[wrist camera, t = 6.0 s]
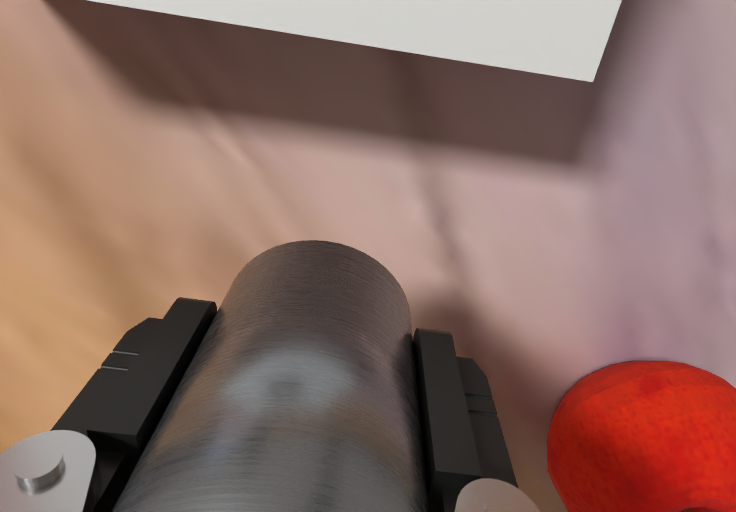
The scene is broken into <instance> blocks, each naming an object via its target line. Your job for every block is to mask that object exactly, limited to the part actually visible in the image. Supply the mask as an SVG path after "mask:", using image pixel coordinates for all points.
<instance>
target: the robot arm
mask: <svg viewBox="0 0 736 512" xmlns="http://www.w3.org/2000/svg"><path fill="white" fill-rule="evenodd" d="M216 313H217V306H216V303H215V302H212V301H205V300H197V299H189V298H181V297H179V298H178V299H176V301H175V302H174V303H173V305H172V306H171V308H170V309H169V311H168V312H167V314H166V315H165V316H164V318H163V319H157V318H147V319H146V320H144V321H143V322H141V323H140V324H138V325H136V326H135V327H133V328H132V329H130V330H129V331H127V332H126V334H125V335H124V336H123V337H122V339H121V340H120V341H119V343H118V344H117V345H116V346H115V348H114V349H113V353H110V354H109V356H108V357H107V358H106V359H105V361H104V362H103V363H102V365H101V369H98V370H97V371H96V372H95V374H94V375H93V376H92V378H91V379H90V380H89V381H88V383H87V384H86V385H85V387H84V388H83V389H82V391H81V392H80V393H79V394H78V396H77V397H76V398H75V400H74V401H73V402H72V403H71V405H70V406H69V407H68V409H67V410H66V411H65V413H64V414H63V415H62V416H61V418H60V419H59V420H58V422H57V423H56V424H55V425H54V427H53V428H52V429H51V430H50V431H47V432H43V433H39V434H35V435H33V436H30V437H28V438H25V439H23V440H21V441H19V442H17V443H16V444H14V445H12V446H11V447H9V448H8V449H6V450H5V451H4V452H3V453H1V454H0V512H112V510H113V508H114V506H115V504H116V503H117V501H118V499H119V497H120V495H121V493H122V491H123V489H124V487H125V486H126V484H127V482H128V480H129V478H130V476H131V474H132V472H133V470H134V468H135V467H136V465H137V463H138V461H139V459H140V457H141V455H142V453H143V451H144V450H145V448H146V446H147V444H148V442H149V440H150V438H151V436H152V434H153V433H154V431H155V429H156V427H157V425H158V423H159V421H160V419H161V417H162V415H163V414H164V412H165V410H166V408H167V406H168V404H169V402H170V400H171V398H172V397H173V395H174V393H175V391H176V389H177V387H178V385H179V383H180V381H181V380H182V378H183V376H184V374H185V372H186V370H187V368H188V366H189V364H190V362H191V361H192V359H193V357H194V355H195V353H196V351H197V349H198V347H199V345H200V344H201V342H202V340H203V338H204V336H205V334H206V332H207V330H208V328H209V327H210V325H211V323H212V321H213V319H214V317H215V315H216ZM413 347H414V358H415V368H416V378H417V389H418V399H419V410H420V420H421V430H422V441H423V451H424V462H425V472H426V482H427V493H428V503H429V512H540V510H539V509H538V507H537V506H536V505H535V503H534V502H533V501H532V500H531V499H530V498H529V497H528V496H527V495H526V494H525V493H523V492H522V491H521V490H520V489H519V488H518V485H517V482H516V479H515V475H514V472H513V468H512V465H511V461H510V458H509V454H508V451H507V447H506V444H505V440H504V437H503V433H502V430H501V426H500V423H499V419H498V417H497V412H496V408H495V405H494V401H493V400H492V394H491V391H490V387H489V384H488V380H487V377H486V376H485V374H484V373H483V372H482V370H481V369H480V368H479V367H478V365H477V364H476V363H475V362H474V360H473V359H470V358H462V357H456V353H455V348H454V343H453V339H452V335H451V333H450V332H443V331H435V330H427V329H419V328H417V329H416V331H415V333H414V337H413Z"/></svg>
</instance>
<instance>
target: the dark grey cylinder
mask: <svg viewBox="0 0 736 512" xmlns="http://www.w3.org/2000/svg"><path fill="white" fill-rule="evenodd" d="M112 512H429V503H428V493H427V482H426V472H425V462H424V451H423V441H422V430H421V420H420V410H419V399H418V389H417V378H416V368H415V358H414V347H413V337H412V326H411V316H410V310H409V305H408V302H407V299H406V296H405V294H404V292H403V290H402V288H401V286H400V284H399V283H398V282H397V280H396V279H395V278H394V276H393V275H392V274H391V273H390V272H389V271H388V270H387V269H386V268H385V267H384V266H383V265H381V264H380V263H379V262H378V261H376V260H375V259H373V258H372V257H370V256H369V255H367V254H365V253H363V252H361V251H359V250H357V249H354V248H352V247H349V246H346V245H343V244H339V243H334V242H328V241H317V240H308V241H297V242H290V243H286V244H283V245H279V246H276V247H274V248H271V249H269V250H267V251H265V252H263V253H261V254H260V255H258V256H256V257H255V258H254V259H252V260H251V261H250V262H249V263H248V264H246V265H245V267H244V268H243V269H242V270H241V271H240V272H239V273H238V275H237V277H236V278H235V280H234V281H233V283H232V285H231V287H230V289H229V291H228V292H227V294H226V296H225V298H224V300H223V302H222V304H221V306H220V308H219V309H218V311H217V313H216V315H215V317H214V319H213V321H212V323H211V325H210V327H209V328H208V330H207V332H206V334H205V336H204V338H203V340H202V342H201V344H200V345H199V347H198V349H197V351H196V353H195V355H194V357H193V359H192V361H191V362H190V364H189V366H188V368H187V370H186V372H185V374H184V376H183V378H182V380H181V381H180V383H179V385H178V387H177V389H176V391H175V393H174V395H173V397H172V398H171V400H170V402H169V404H168V406H167V408H166V410H165V412H164V414H163V415H162V417H161V419H160V421H159V423H158V425H157V427H156V429H155V431H154V433H153V434H152V436H151V438H150V440H149V442H148V444H147V446H146V448H145V450H144V451H143V453H142V455H141V457H140V459H139V461H138V463H137V465H136V467H135V468H134V470H133V472H132V474H131V476H130V478H129V480H128V482H127V484H126V486H125V487H124V489H123V491H122V493H121V495H120V497H119V499H118V501H117V503H116V504H115V506H114V508H113V510H112Z"/></svg>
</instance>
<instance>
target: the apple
mask: <svg viewBox="0 0 736 512" xmlns="http://www.w3.org/2000/svg"><path fill="white" fill-rule="evenodd" d="M547 461H548V472H549V474H550V477H551V479H552V482H553V484H554V486H555V488H556V489H557V491H558V493H559V495H560V497H561V499H562V501H563V503H564V505H565V506H566V508H567V510H568V512H736V389H735V388H734V387H733V386H732V385H730V384H729V383H728V382H727V381H726V380H724V379H723V378H721V377H718V376H716V375H714V374H712V373H710V372H708V371H705V370H702V369H700V368H697V367H694V366H691V365H688V364H685V363H678V362H669V361H630V362H624V363H619V364H614V365H610V366H608V367H605V368H603V369H601V370H598V371H596V372H593V373H591V374H589V375H588V376H586V377H584V378H583V379H581V380H580V381H579V382H578V383H576V384H575V385H574V386H573V387H572V388H571V389H570V390H569V391H568V392H567V393H566V394H565V396H564V397H563V399H562V401H561V403H560V404H559V406H558V408H557V410H556V411H555V413H554V415H553V417H552V421H551V425H550V429H549V433H548V437H547Z"/></svg>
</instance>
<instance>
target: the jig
mask: <svg viewBox="0 0 736 512" xmlns="http://www.w3.org/2000/svg"><path fill="white" fill-rule="evenodd" d="M88 1H94V2H100V3H106V4H112V5H119V6H125V7H131V8H137V9H143V10H149V11H156V12H162V13H168V14H174V15H180V16H187V17H193V18H199V19H205V20H211V21H217V22H224V23H230V24H236V25H242V26H248V27H255V28H261V29H267V30H273V31H279V32H285V33H292V34H298V35H304V36H310V37H316V38H323V39H329V40H335V41H341V42H347V43H353V44H360V45H366V46H372V47H378V48H384V49H391V50H397V51H403V52H409V53H415V54H421V55H428V56H434V57H440V58H446V59H452V60H459V61H465V62H471V63H477V64H483V65H489V66H496V67H502V68H508V69H514V70H520V71H527V72H533V73H539V74H545V75H551V76H557V77H564V78H570V79H576V80H582V81H588V82H593V81H594V78H595V75H596V72H597V69H598V66H599V64H600V61H601V58H602V55H603V52H604V49H605V46H606V44H607V41H608V38H609V35H610V32H611V29H612V27H613V24H614V21H615V18H616V15H617V12H618V10H619V7H620V4H621V1H622V0H88Z"/></svg>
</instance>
